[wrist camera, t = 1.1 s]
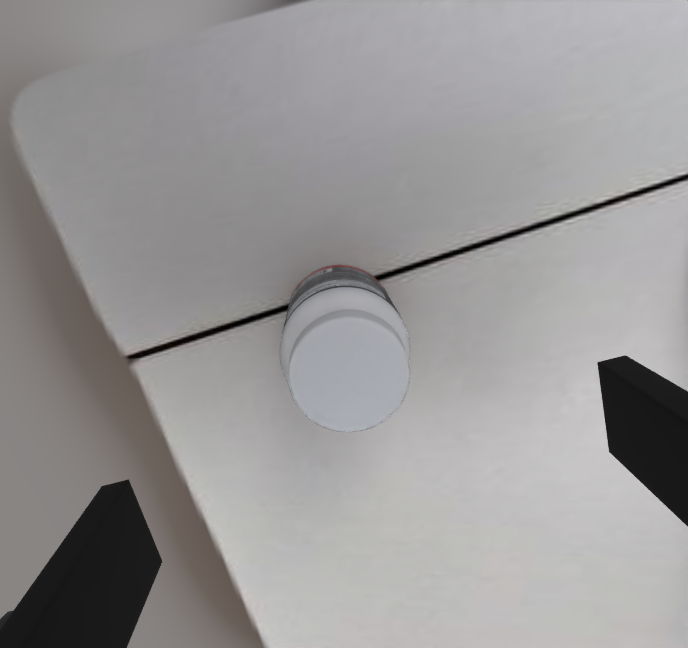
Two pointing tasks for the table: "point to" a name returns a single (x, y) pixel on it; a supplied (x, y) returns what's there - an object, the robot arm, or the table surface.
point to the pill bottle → (345, 350)
